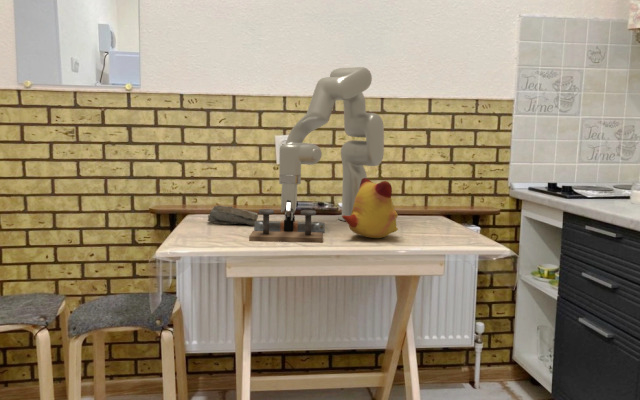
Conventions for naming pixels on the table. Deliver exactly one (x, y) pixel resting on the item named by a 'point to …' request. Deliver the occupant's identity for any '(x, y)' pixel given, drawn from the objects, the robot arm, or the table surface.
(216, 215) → the rock
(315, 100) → the robot arm
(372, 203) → the toy
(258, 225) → the two-ball handle bar
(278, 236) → the rack
